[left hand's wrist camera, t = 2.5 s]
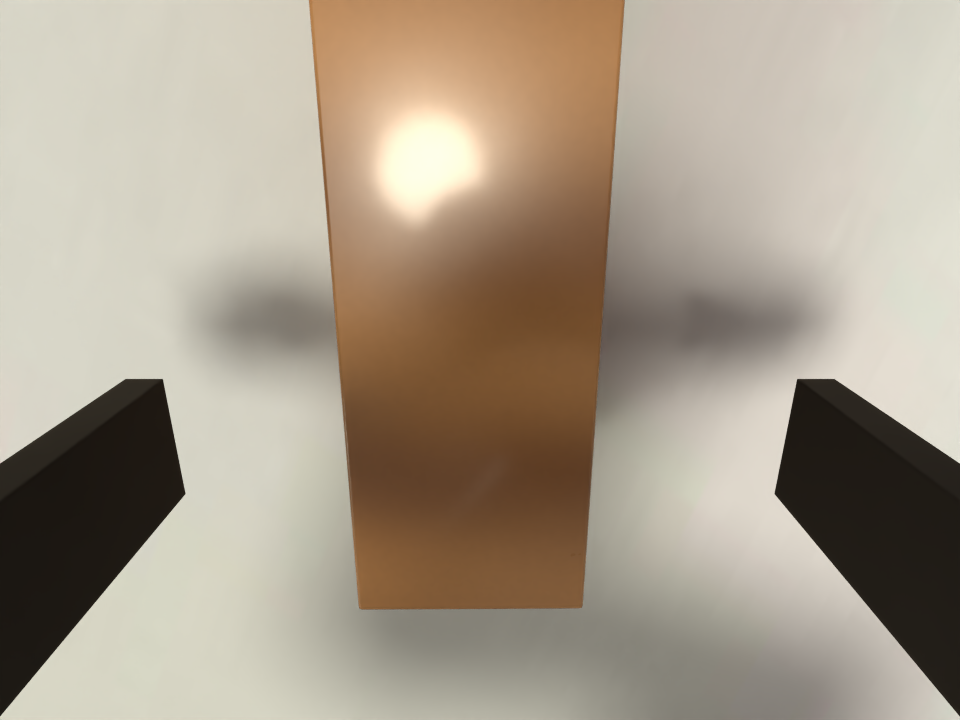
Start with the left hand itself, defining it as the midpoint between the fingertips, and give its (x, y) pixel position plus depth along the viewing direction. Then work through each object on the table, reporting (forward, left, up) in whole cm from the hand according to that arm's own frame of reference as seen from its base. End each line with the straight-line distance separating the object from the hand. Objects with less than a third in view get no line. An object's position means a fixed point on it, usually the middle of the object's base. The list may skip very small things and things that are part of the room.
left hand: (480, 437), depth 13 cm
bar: (+22, -5, -9) cm, 25 cm away
